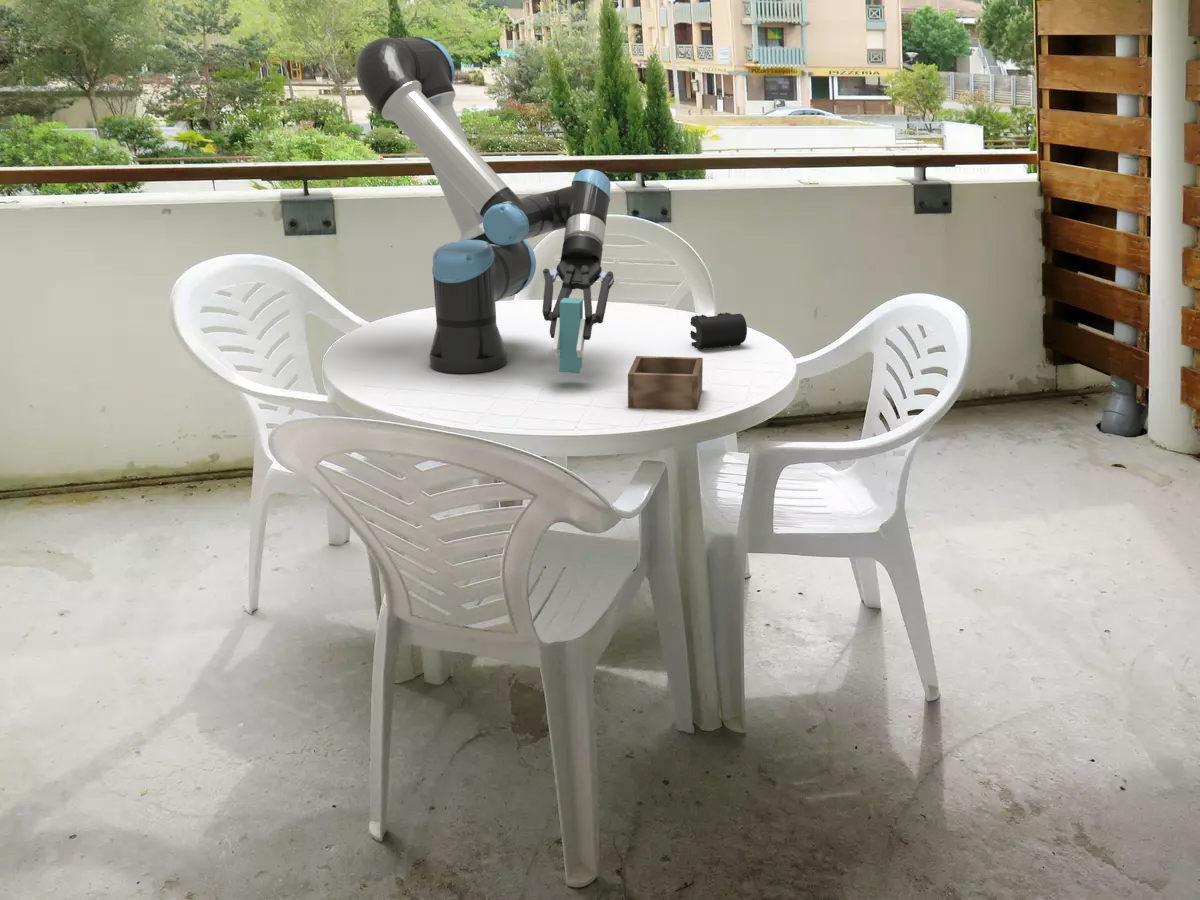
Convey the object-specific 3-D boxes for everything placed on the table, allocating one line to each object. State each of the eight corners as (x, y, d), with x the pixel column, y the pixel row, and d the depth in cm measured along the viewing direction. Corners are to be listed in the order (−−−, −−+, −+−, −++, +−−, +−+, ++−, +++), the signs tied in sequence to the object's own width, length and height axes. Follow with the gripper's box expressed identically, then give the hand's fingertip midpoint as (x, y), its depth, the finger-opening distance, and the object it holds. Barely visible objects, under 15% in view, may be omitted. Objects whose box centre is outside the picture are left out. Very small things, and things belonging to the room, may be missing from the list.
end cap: (701, 353, 236) (702, 321, 234) (688, 345, 243) (688, 313, 240) (747, 349, 239) (747, 316, 237) (732, 341, 246) (733, 309, 243)
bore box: (628, 407, 203) (627, 374, 201) (636, 387, 214) (636, 356, 212) (697, 409, 201) (697, 376, 199) (702, 389, 212) (702, 357, 210)
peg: (559, 372, 214) (559, 302, 210) (563, 366, 217) (563, 297, 213) (578, 373, 214) (579, 303, 209) (582, 367, 217) (582, 298, 212)
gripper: (628, 257, 222) (615, 365, 213) (542, 254, 225) (525, 360, 215) (625, 234, 216) (611, 345, 206) (536, 231, 218) (518, 340, 208)
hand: (567, 353), depth 210 cm, fingers closed on peg, 4 cm apart
